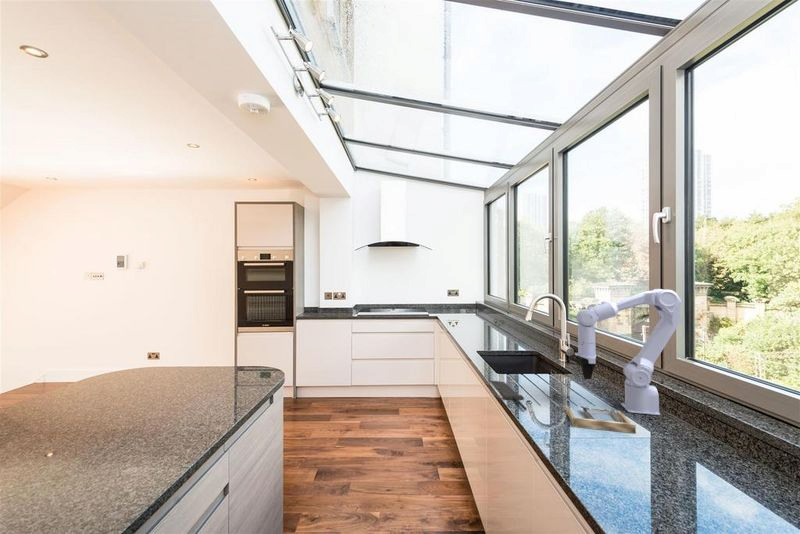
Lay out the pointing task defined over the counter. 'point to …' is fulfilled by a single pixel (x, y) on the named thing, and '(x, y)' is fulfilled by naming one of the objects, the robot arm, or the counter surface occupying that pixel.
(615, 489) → the counter surface
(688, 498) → the counter surface
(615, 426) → the oak frame
